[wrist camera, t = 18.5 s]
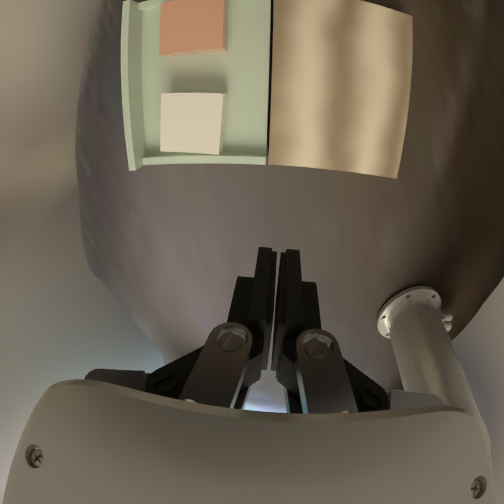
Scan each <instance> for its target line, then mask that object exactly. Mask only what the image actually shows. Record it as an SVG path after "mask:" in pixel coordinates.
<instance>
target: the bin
mask: <svg viewBox="0 0 504 504" xmlns="http://www.w3.org/2000/svg"><path fill="white" fill-rule="evenodd" d="M168 1H173V0H148V1H144V2H140V3H137V2H135V1H132V0H127V1H124V2H123V11H122V28H121V86H122V105H123V118H124V130H125V139H126V148H127V156H128V164H129V171H131V170H137V169H138V168H140V167H141V166H142V165H152V164H180V163H232V164H260V165H265V164H266V151H267V125H268V97H269V65H270V27H271V0H228V1H229V2H228V36H227V52H211V53H198V54H188V55H180V56H172V57H166V56H161V55H159V39H160V12H161V3H163V2H168ZM168 92H216V93H228V99H227V110H226V122H225V134H224V148H223V150H222V151H221V153H220V154H219V155H216V154H203V153H187V152H163V151H160V118H161V93H168Z"/></svg>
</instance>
